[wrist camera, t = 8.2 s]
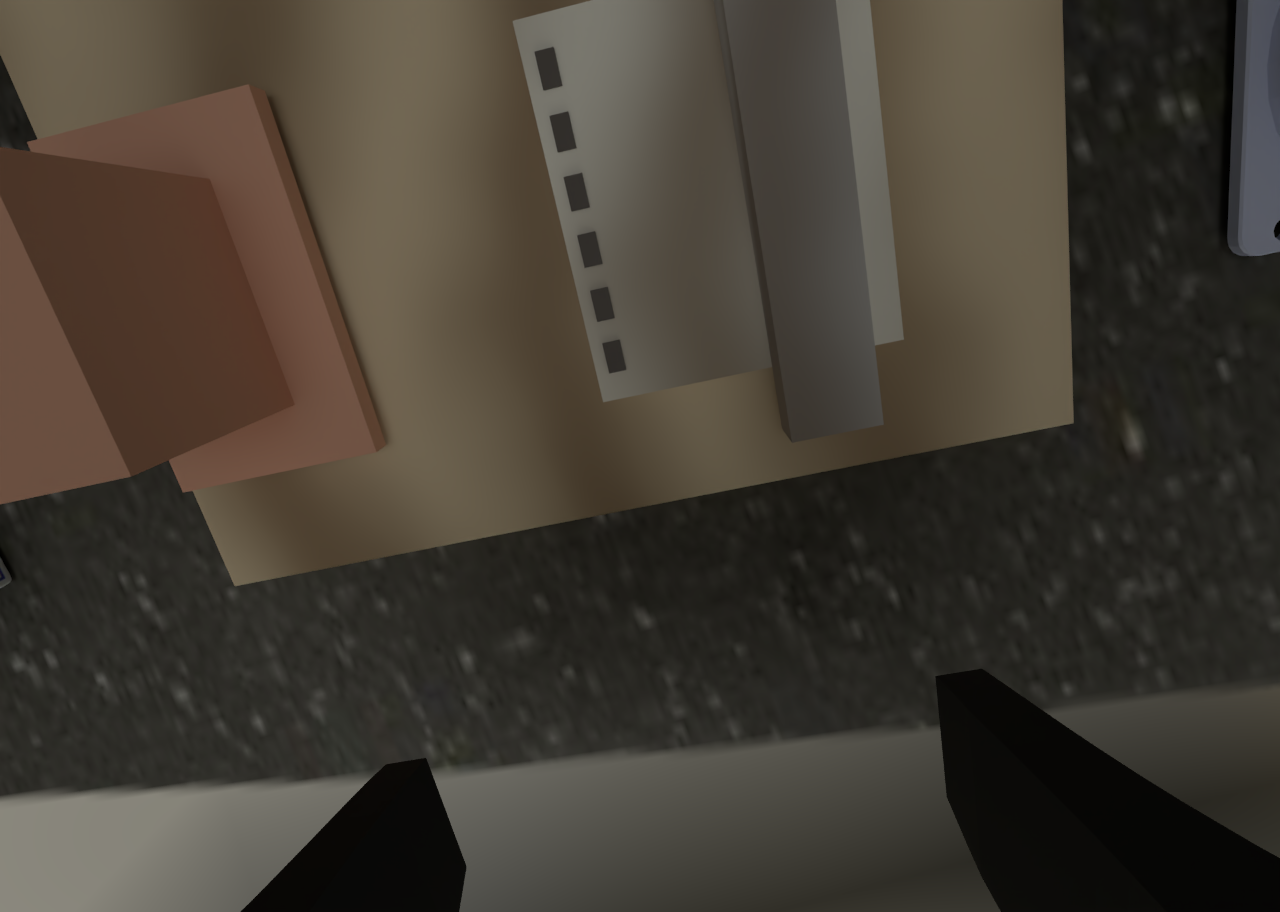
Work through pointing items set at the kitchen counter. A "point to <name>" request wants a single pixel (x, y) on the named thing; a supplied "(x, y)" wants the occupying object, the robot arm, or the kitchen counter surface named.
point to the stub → (168, 307)
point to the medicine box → (4, 575)
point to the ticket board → (623, 238)
